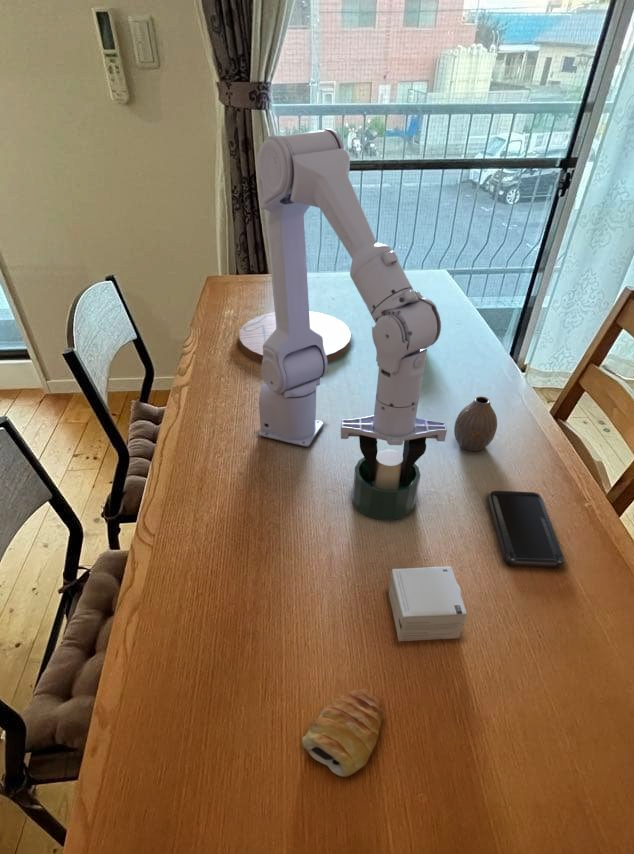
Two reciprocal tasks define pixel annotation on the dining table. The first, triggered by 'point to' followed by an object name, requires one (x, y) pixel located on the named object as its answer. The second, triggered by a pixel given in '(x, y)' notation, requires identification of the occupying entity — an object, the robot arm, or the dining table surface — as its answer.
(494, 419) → the vase
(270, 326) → the trivet
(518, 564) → the phone
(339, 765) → the pastry
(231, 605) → the dining table surface
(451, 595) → the small box
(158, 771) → the dining table surface
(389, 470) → the candle
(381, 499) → the dark green bowl
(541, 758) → the dining table surface
